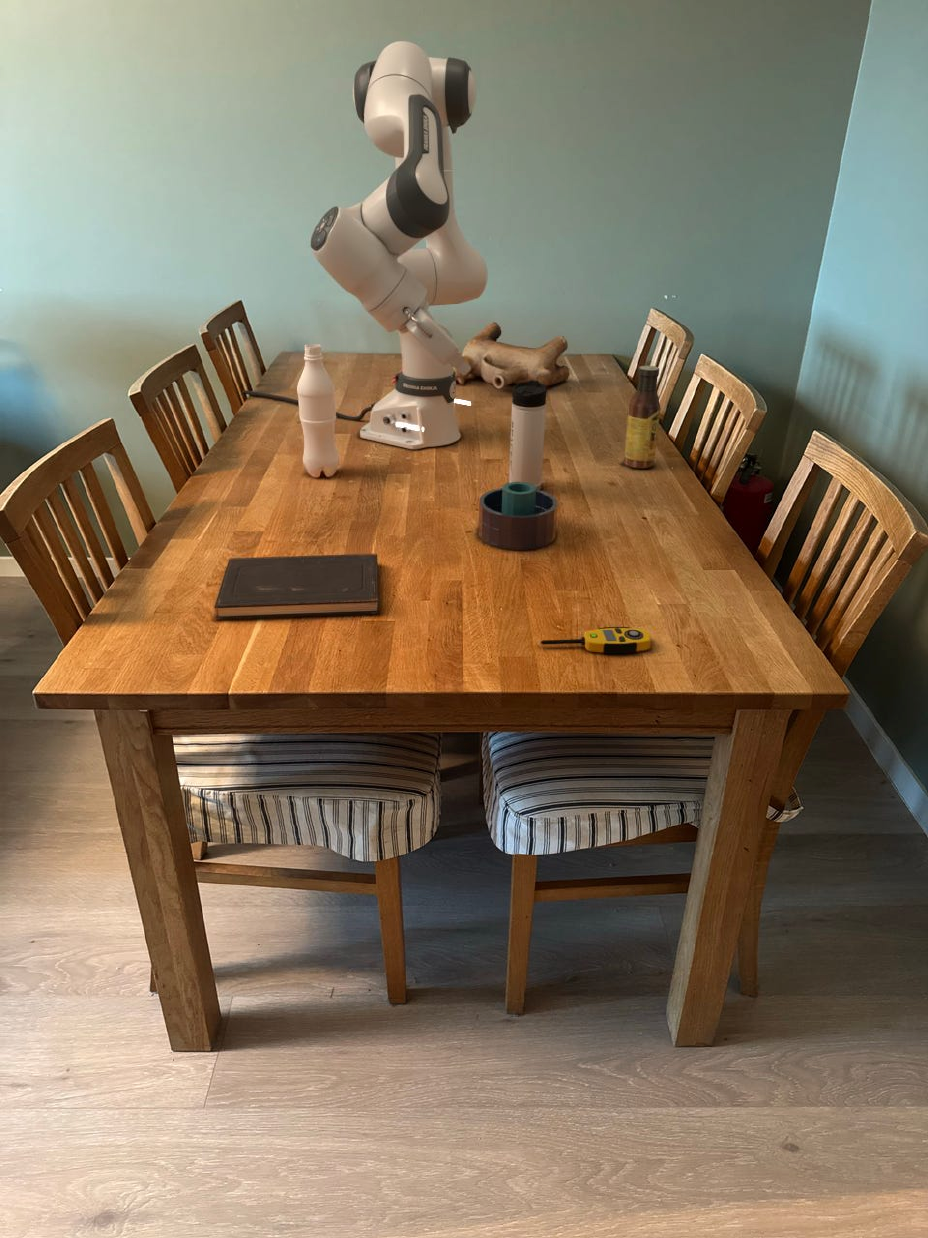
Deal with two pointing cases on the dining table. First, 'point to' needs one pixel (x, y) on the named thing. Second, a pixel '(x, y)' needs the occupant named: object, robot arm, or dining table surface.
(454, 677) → the dining table surface
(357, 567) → the hardcover book
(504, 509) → the teal hollow cylinder
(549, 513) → the pot
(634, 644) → the yellow walkie talkie
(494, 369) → the ceramic vessel
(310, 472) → the water bottle
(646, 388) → the sauce bottle
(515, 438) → the travel mug
